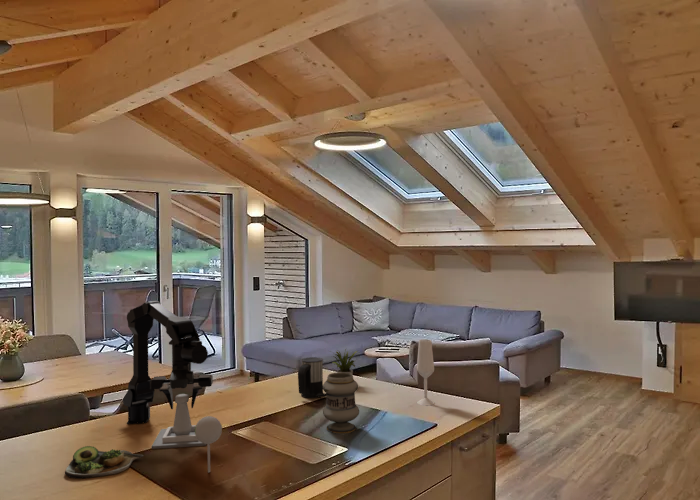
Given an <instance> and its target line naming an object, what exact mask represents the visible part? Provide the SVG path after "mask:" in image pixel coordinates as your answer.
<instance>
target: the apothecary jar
mask: <svg viewBox="0 0 700 500" xmlns="http://www.w3.org/2000/svg"><path fill="white" fill-rule="evenodd" d="M326 378H327V379H326V381H325V382H323V393H326V397H325V398H326V404H325V406H324V407H323V410H322V414H323V416H324V418H325V419H326V420H328V421H330V422H332V423H329V424H327V426H326V430H327V431H328V432H331V433H333V434H349V433H350V434H351V433H352V432H354V431H356V429H357V426H356V425H355V424H354V423H352V421H353V420H355V419H356V418H357V417H358V416H359V414H360V408H359V406H357V404H356V392H357V391H358V390H359V384H358V382H357V381H356V380H354V375H353V374H351V373H347V372H337V371H336V372H332V373H329V374H327V377H326Z"/></svg>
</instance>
